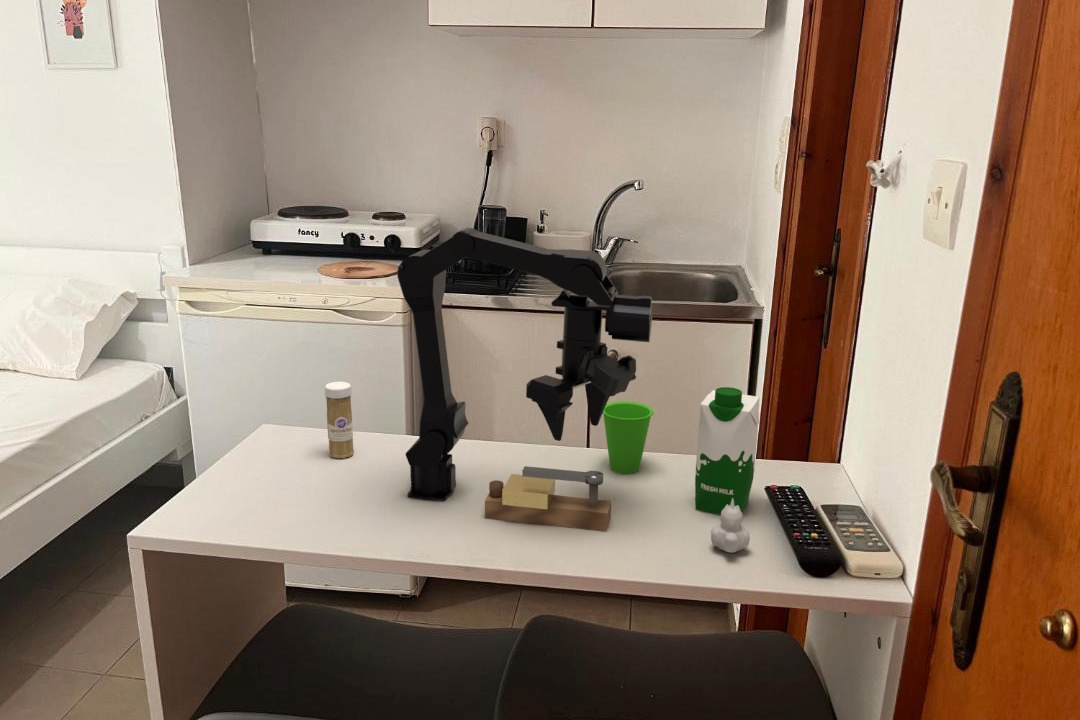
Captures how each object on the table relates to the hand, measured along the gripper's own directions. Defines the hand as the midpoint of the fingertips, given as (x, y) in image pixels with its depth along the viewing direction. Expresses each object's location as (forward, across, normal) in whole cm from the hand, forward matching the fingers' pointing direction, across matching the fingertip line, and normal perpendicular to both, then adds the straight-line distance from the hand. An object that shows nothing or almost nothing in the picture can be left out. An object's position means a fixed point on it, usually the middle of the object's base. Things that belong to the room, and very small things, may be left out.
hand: (576, 432), depth 133 cm
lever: (+6, -5, -2) cm, 8 cm away
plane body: (+13, -6, 0) cm, 14 cm away
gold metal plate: (+10, -8, +3) cm, 13 cm away
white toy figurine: (+12, +4, -26) cm, 29 cm away
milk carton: (+12, +16, -18) cm, 27 cm away
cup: (+12, +18, +2) cm, 22 cm away
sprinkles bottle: (+14, -12, +44) cm, 48 cm away
